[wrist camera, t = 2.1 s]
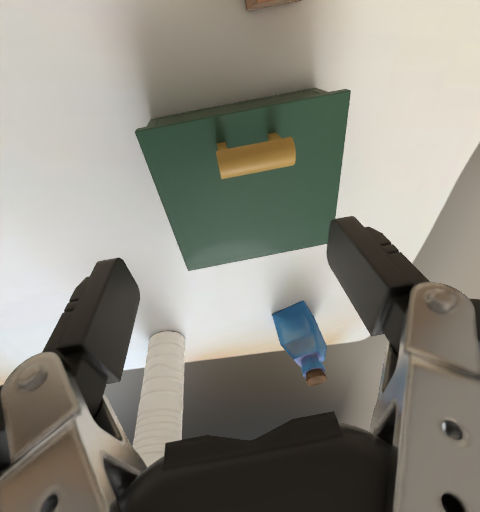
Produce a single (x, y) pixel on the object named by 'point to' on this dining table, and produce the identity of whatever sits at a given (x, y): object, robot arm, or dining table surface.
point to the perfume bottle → (302, 340)
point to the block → (265, 3)
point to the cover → (250, 177)
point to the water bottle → (161, 396)
